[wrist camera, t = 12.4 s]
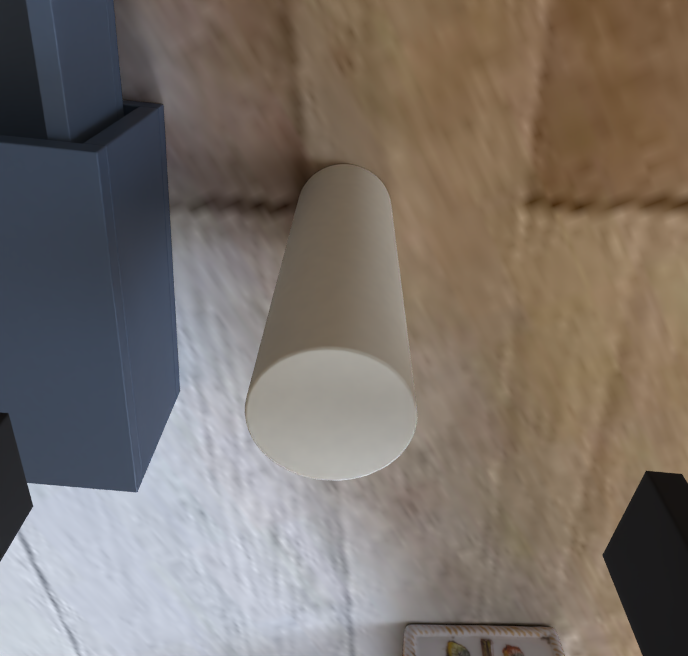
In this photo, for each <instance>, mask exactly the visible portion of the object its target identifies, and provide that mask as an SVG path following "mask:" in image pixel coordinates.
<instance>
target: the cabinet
mask: <svg viewBox="0 0 688 656" xmlns="http://www.w3.org/2000/svg"><path fill="white" fill-rule="evenodd" d="M123 111H124V117H123V118H121V119H120V120H118V121H117V122H115V123H114V124H112V125H110V126H109V127H107V128H106V129H104V130H103V131H101V132H100V133H98V134H97V135H95V136H94V137H92V138H91V139H89V140H87V141H86V142H84V143H83V144H82V143H72V142H63V141H53V140H44V139H34V138H25V137H15V136H6V135H0V412H2V413H9V417H10V421H11V424H12V428H13V432H14V436H15V440H16V443H17V447H18V451H19V455H20V459H21V462H22V466H23V470H24V474H25V478H26V481H27V483H35V484H47V485H58V486H70V487H81V488H93V489H104V490H116V491H127V492H138V489H139V487H140V485H141V482H142V479H143V477H144V475H145V472H146V470H147V468H148V465H149V463H150V461H151V458H152V456H153V453H154V451H155V449H156V446H157V444H158V442H159V439H160V437H161V435H162V432H163V430H164V427H165V425H166V423H167V420H168V418H169V416H170V413H171V411H172V408H173V406H174V404H175V401H176V399H177V397H178V394H179V392H180V383H179V366H178V349H177V331H176V314H175V297H174V279H173V262H172V245H171V227H170V210H169V193H168V175H167V158H166V141H165V124H164V106H163V104H156V103H146V102H137V101H128V100H123Z"/></svg>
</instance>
